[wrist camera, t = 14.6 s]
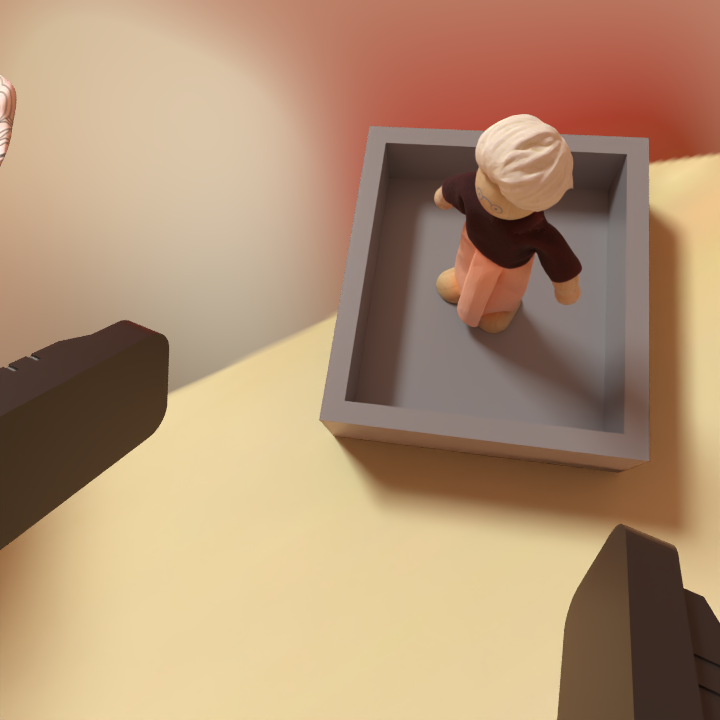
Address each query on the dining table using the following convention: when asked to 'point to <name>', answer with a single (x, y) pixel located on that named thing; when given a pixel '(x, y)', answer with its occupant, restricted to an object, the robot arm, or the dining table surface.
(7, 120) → the cookie jar
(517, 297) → the grandmother figurine
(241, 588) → the dining table surface
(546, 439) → the tray
